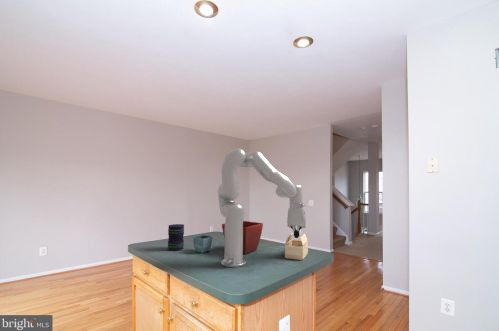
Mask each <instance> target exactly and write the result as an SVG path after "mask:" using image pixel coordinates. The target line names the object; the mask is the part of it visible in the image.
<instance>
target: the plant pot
mask: <svg viewBox="0 0 499 331" xmlns="http://www.w3.org/2000/svg"><path fill="white" fill-rule="evenodd" d="M221 228H222V235H223V238H224V239H225V223H222V224H221ZM263 228H264V223H262V222H256V221H246V220H243V255H247V254H249V253H252V252H255V251H257V250H258V246H259V243H260V241H261V236H262V231H263Z"/></svg>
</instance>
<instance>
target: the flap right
mask: <svg viewBox="0 0 499 331" xmlns="http://www.w3.org/2000/svg"><path fill="white" fill-rule="evenodd" d="M299 237H300V238H299V240H301V243H302V246H303V245H304V244H305V243H306V242H307V241H308V238H307V236H306V233H303V235H302V236H299Z"/></svg>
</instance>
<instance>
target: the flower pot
mask: <svg viewBox="0 0 499 331" xmlns="http://www.w3.org/2000/svg"><path fill="white" fill-rule="evenodd" d="M192 239H193V240H192V241H193V247H194V249H195V251H196V252H197V253H202V254H203V253H204V254H205V253H206V252H208V251H209V250H210V248H211V247H212V242H213V236H211V235H205V234H201V235H197V236H193V237H192Z"/></svg>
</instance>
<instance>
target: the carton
mask: <svg viewBox="0 0 499 331" xmlns="http://www.w3.org/2000/svg"><path fill="white" fill-rule="evenodd" d="M308 254H309V242H308V241H307V242H306V243H305V244H304V245H303V246H302V243H301V240H300V239H299V240H297V239H291V240H290V241H289V242H288V243H286V244H284V258H285V259H287V260H297V261H303V260H304V259H306V256H307V255H308Z"/></svg>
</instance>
